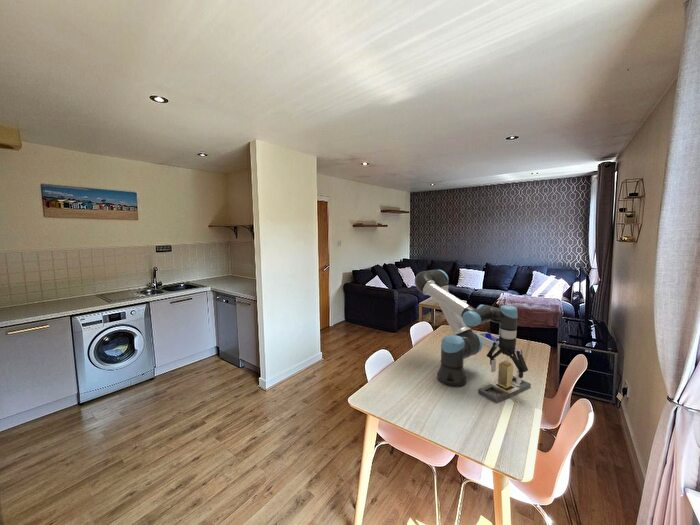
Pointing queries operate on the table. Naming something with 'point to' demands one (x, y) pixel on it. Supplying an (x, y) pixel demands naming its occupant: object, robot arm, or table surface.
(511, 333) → the robot arm
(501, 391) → the grey peg hole board
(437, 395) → the table surface
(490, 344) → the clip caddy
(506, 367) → the brass peg
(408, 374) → the table surface
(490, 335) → the blue arch block
